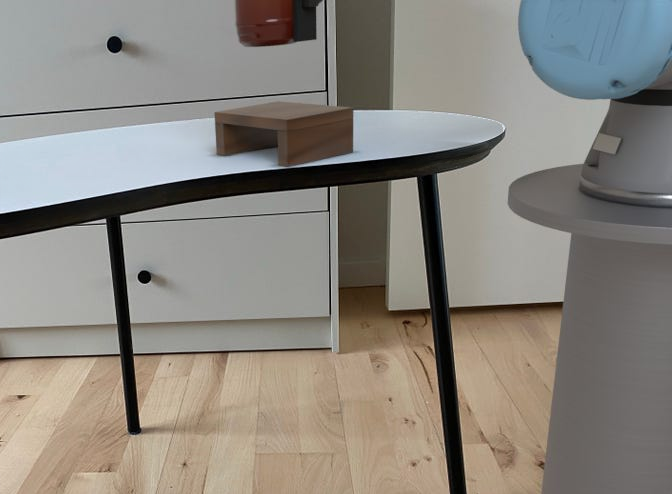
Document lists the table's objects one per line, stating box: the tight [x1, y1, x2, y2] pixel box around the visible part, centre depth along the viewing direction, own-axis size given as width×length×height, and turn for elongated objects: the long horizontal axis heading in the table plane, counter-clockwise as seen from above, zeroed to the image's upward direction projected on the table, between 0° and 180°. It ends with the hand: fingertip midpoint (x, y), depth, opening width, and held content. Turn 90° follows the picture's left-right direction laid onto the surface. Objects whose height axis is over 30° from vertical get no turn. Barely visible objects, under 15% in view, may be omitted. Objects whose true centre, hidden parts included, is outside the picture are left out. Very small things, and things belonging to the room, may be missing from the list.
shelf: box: [214, 101, 354, 168], centre depth 97 cm, size 13×10×5 cm
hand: (280, 40), depth 93 cm, fingers closed on mug, 7 cm apart
